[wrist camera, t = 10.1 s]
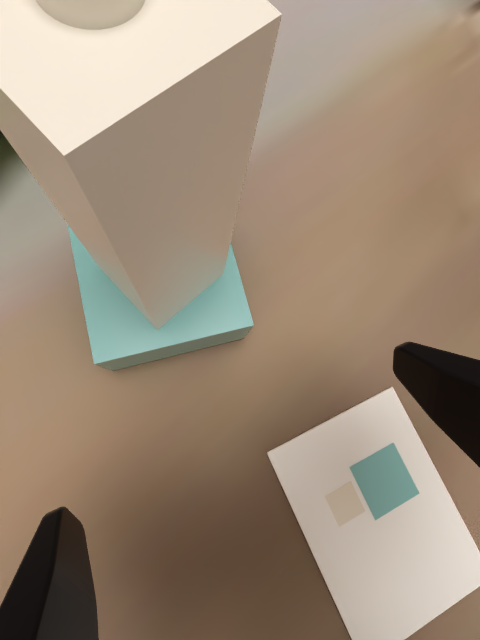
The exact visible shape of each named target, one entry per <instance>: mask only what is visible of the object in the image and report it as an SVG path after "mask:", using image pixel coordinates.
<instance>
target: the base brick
mask: <svg viewBox="0 0 480 640" xmlns="http://www.w3.org/2000/svg"><path fill="white" fill-rule="evenodd" d="M68 229H69V234H70V240H71V245H72V250H73V256H74V261H75V266H76V271H77V277H78V282H79V287H80V292H81V298H82V303H83V308H84V314H85V319H86V324H87V329H88V335H89V340H90V345H91V350H92V356H93V361H94V364H95V365H98V366H101V367H104V368H106V369H109V370H112V371H114V370H118V369H122V368H126V367H131V366H135V365H139V364H143V363H147V362H151V361H155V360H159V359H163V358H167V357H171V356H175V355H179V354H183V353H187V352H191V351H195V350H199V349H203V348H207V347H211V346H215V345H219V344H223V343H227V342H231V341H235V340H239V339H243V338H244V337H245V336H246V335H247V333H248V332H249V331H250V330H251V328H252V327H253V326H254V324H253V321H252V317H251V313H250V310H249V306H248V303H247V299H246V296H245V292H244V288H243V285H242V281H241V278H240V274H239V271H238V267H237V263H236V260H235V256H234V253H233V249H232V246H231V242H230V247H229V251H228V256H227V260H226V265H225V269H224V273H223V275H222V276H220V277H219V278H218V279H217V280H216V281H215V282H213V283H212V284H211V285H210V286H209V287H208V288H206V289H205V290H204V291H203V292H202V293H201V294H199V295H198V296H197V297H196V298H195V299H194V300H192V301H191V302H190V303H189V304H188V305H187V306H185V307H184V308H183V309H182V310H181V311H180V312H178V313H177V314H176V315H175V316H174V317H173V318H171V319H170V320H169V321H168V322H167V323H166V324H164V325H163V326H162V327H161V328H160V329H159V330H156V328H155V327H154V326H153V325H152V324H151V323H150V322H149V321H148V320H147V319H146V318H145V317H144V315H143V314H142V313H141V312H140V311H139V310H138V309H137V308H136V307H135V306H134V305H133V303H132V302H131V301H130V300H129V299H128V298H127V297H126V296H125V295H124V294H123V293H122V292H121V290H120V289H119V288H118V287H117V286H116V285H115V284H114V283H113V282H112V281H111V280H110V278H109V277H108V276H107V275H106V274H105V273H104V272H103V271H102V270H101V269H100V268H99V267H98V265H97V264H96V263H95V261H94V260H93V258H92V257H91V256H90V254H89V253H88V251H87V250H86V249H85V247H84V246H83V244H82V243H81V242H80V240H79V239H78V237H77V236H76V235H75V233H74V232H73V231H72V229H71V228H70V226H69V225H68Z"/></svg>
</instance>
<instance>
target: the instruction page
mask: <svg viewBox="0 0 480 640" xmlns="http://www.w3.org/2000/svg"><path fill="white" fill-rule="evenodd" d="M266 453H267V455H268V457H269V459H270V462H271V464H272V466H273V468H274V470H275V473H276V475H277V477H278V479H279V481H280V484H281V486H282V488H283V490H284V492H285V495H286V497H287V499H288V501H289V503H290V506H291V508H292V510H293V512H294V514H295V516H296V519H297V521H298V523H299V525H300V527H301V530H302V532H303V534H304V536H305V538H306V541H307V543H308V545H309V547H310V549H311V552H312V554H313V556H314V558H315V560H316V563H317V565H318V567H319V569H320V571H321V574H322V576H323V578H324V580H325V582H326V585H327V587H328V589H329V591H330V593H331V596H332V598H333V600H334V602H335V604H336V607H337V609H338V611H339V613H340V615H341V617H342V620H343V622H344V624H345V626H346V628H347V631H348V633H349V635H350V637H351V639H352V640H405V639H406V638H407V637H409V636H410V635H412V634H413V633H414V632H416V631H417V630H419V629H420V628H421V627H423V626H424V625H426V624H427V623H428V622H430V621H431V620H433V619H434V618H435V617H437V616H438V615H440V614H441V613H442V612H444V611H445V610H447V609H448V608H450V607H451V606H452V605H454V604H455V603H457V602H458V601H459V600H461V599H462V598H464V597H465V596H466V595H468V594H469V593H471V592H472V591H473V590H475V589H476V588H478V587H479V586H480V552H479V550H478V548H477V546H476V544H475V542H474V540H473V539H472V537H471V535H470V533H469V531H468V529H467V527H466V525H465V523H464V521H463V520H462V518H461V516H460V514H459V512H458V510H457V508H456V506H455V504H454V502H453V501H452V499H451V497H450V495H449V493H448V491H447V489H446V487H445V485H444V484H443V482H442V480H441V478H440V476H439V474H438V472H437V470H436V468H435V466H434V465H433V463H432V461H431V459H430V457H429V455H428V453H427V451H426V449H425V447H424V446H423V444H422V442H421V440H420V438H419V436H418V434H417V432H416V430H415V428H414V427H413V425H412V423H411V421H410V419H409V417H408V415H407V413H406V411H405V409H404V408H403V406H402V404H401V402H400V400H399V398H398V396H397V394H396V392H395V390H394V389H393V387H390V388H388V389H386V390H384V391H382V392H380V393H378V394H376V395H375V396H373V397H371V398H369V399H367V400H365V401H363V402H361V403H359V404H357V405H356V406H354V407H352V408H350V409H348V410H346V411H344V412H342V413H340V414H338V415H337V416H335V417H333V418H331V419H329V420H327V421H325V422H323V423H321V424H320V425H318V426H316V427H314V428H312V429H310V430H308V431H306V432H304V433H302V434H301V435H299V436H297V437H295V438H293V439H291V440H289V441H287V442H285V443H283V444H282V445H280V446H278V447H276V448H274V449H272V450H270V451H268V452H266Z"/></svg>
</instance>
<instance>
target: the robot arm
mask: <svg viewBox="0 0 480 640" xmlns="http://www.w3.org/2000/svg"><path fill="white" fill-rule="evenodd" d="M393 371H394V374H395V375H396V377H397V378H398V379H399V381H400V382H401V383H402V384H403V386H404V387H405V388H406V389H407V390H408V392H409V393H410V394H411V395H412V396H413V398H414V399H415V400H416V401H417V403H418V404H419V405H420V406H421V407H422V409H423V410H424V411H425V412H426V413H427V415H428V416H429V417H430V418H431V419H432V420H433V421H434V422H435V423H436V424H437V425H438V426H439V427H440V428H441V429H442V430H443V431H444V432H445V433H446V434H447V435H448V436H449V437H450V438H451V439H452V440H453V441H454V442H455V443H456V444H457V445H458V446H459V447H460V448H461V449H462V450H463V451H464V452H465V453H466V454H467V455H468V456H469V457H470V458H471V459H472V460H473V461H474V462H475V463H476V464H477V465H478V466H479V467H480V360H477V359H473V358H469V357H466V356H462V355H458V354H454V353H451V352H447V351H443V350H439V349H436V348H432V347H428V346H424V345H421V344H417V343H413V342H405V343H403V344H401V345H399V346H397V347H395V349H394V356H393ZM0 640H99V638H98V620H97V606H96V597H95V590H94V584H93V578H92V572H91V567H90V561H89V555H88V549H87V543H86V537H85V531H84V528H83V525H82V524H81V522H80V521H79V520H78V519H77V518H76V517H75V516H74V515H73V514H72V513H71V512H70V511H69V510H68V509H67V508H66V507H59V508H57V509H55V510H53V511H51V512H49V513H47V514H46V515H45V516H44V517H43V518H42V520H41V522H40V524H39V526H38V529H37V531H36V533H35V535H34V537H33V539H32V541H31V543H30V545H29V547H28V549H27V552H26V554H25V556H24V558H23V560H22V562H21V564H20V566H19V568H18V570H17V572H16V575H15V577H14V579H13V581H12V583H11V585H10V587H9V589H8V591H7V593H6V595H5V598H4V600H3V602H2V604H1V606H0Z"/></svg>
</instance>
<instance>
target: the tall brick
mask: <svg viewBox="0 0 480 640" xmlns="http://www.w3.org/2000/svg"><path fill="white" fill-rule="evenodd" d="M281 16H282V14H281V13H280V12H279V11H278V10H277V9H276V8H275V7H274V6H273V5H272V4H271V3H270V2H268V1H267V0H0V130H1V132H2V133H3V135H4V136H5V137H6V139H7V140H8V142H9V143H10V144H11V146H12V147H13V149H14V150H15V151H16V153H17V154H18V155H19V157H20V158H21V160H22V161H23V162H24V164H25V165H26V167H27V168H28V169H29V171H30V172H31V174H32V175H33V176H34V178H35V179H36V180H37V182H38V183H39V185H40V186H41V187H42V189H43V190H44V192H45V193H46V194H47V196H48V197H49V199H50V200H51V201H52V203H53V204H54V206H55V207H56V208H57V210H58V211H59V212H60V214H61V215H62V217H63V218H64V219H65V221H66V222H67V224H68V225H69V226H70V228H71V229H72V231H73V232H74V233H75V235H76V236H77V237H78V239H79V240H80V242H81V243H82V244H83V246H84V247H85V249H86V250H87V251H88V253H89V254H90V256H91V257H92V258H93V260H94V261H95V263H96V264H97V265H98V267H99V268H100V269H101V270H102V271H103V272H104V273H105V274H106V275H107V276H108V277H109V278H110V280H111V281H112V282H113V283H114V284H115V285H116V286H117V287H118V288H119V289H120V290H121V292H122V293H123V294H124V295H125V296H126V297H127V298H128V299H129V300H130V301H131V302H132V303H133V305H134V306H135V307H136V308H137V309H138V310H139V311H140V312H141V313H142V314H143V315H144V317H145V318H146V319H147V320H148V321H149V322H150V323H151V324H152V325H153V326H154V327H155V328H156V330H159V329H160V328H161V327H162V326H163V325H164V324H166V323H167V322H168V321H169V320H170V319H171V318H173V317H174V316H175V315H176V314H177V313H178V312H180V311H181V310H182V309H183V308H184V307H185V306H187V305H188V304H189V303H190V302H191V301H192V300H194V299H195V298H196V297H197V296H198V295H199V294H201V293H202V292H203V291H204V290H205V289H206V288H208V287H209V286H210V285H211V284H212V283H213V282H215V281H216V280H217V279H218V278H219V277H220V276H222V275H223V273H224V269H225V265H226V260H227V256H228V251H229V247H230V242H231V238H232V233H233V229H234V225H235V220H236V216H237V211H238V207H239V202H240V198H241V194H242V189H243V185H244V180H245V176H246V171H247V167H248V163H249V158H250V154H251V149H252V145H253V140H254V136H255V131H256V127H257V123H258V118H259V114H260V109H261V105H262V100H263V96H264V92H265V87H266V83H267V78H268V74H269V69H270V65H271V61H272V56H273V52H274V47H275V43H276V38H277V34H278V29H279V25H280V21H281Z"/></svg>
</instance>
